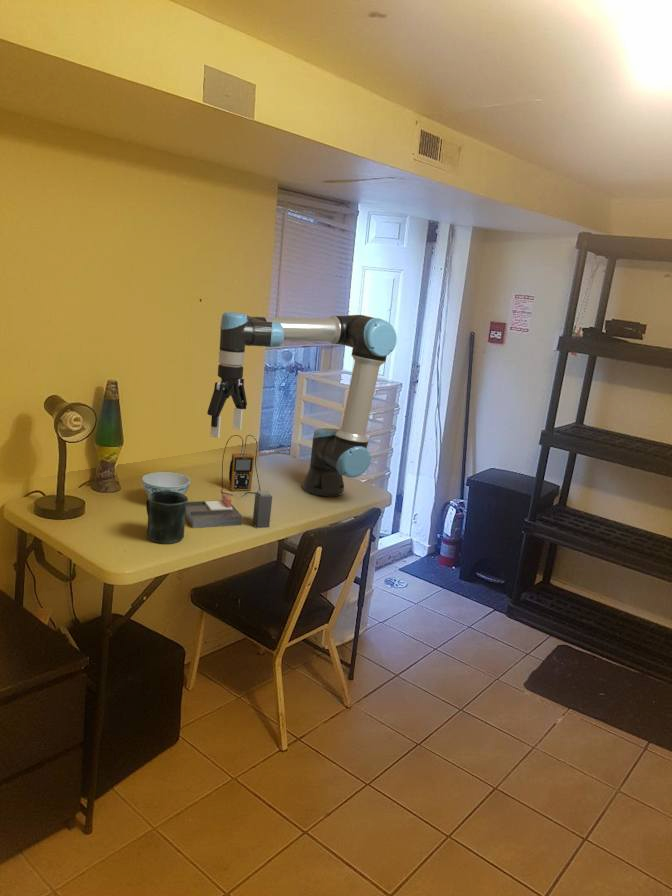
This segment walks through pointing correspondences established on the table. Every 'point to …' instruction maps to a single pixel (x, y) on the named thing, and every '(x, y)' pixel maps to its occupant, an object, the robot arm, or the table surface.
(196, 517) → the socket plate
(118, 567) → the table surface
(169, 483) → the chinaware
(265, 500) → the gray rectangular block
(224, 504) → the shutter
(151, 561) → the table surface
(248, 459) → the multimeter
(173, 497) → the mug
